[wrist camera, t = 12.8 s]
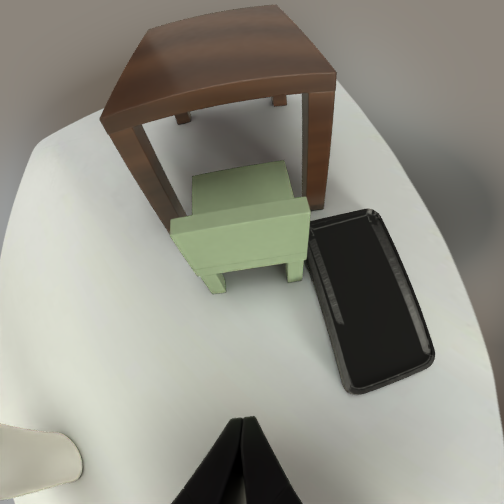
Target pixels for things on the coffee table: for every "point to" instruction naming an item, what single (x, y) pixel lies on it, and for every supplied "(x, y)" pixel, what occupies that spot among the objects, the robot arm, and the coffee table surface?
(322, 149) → the walnut table
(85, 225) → the coffee table surface
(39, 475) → the drinking glass
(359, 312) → the phone
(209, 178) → the chair
